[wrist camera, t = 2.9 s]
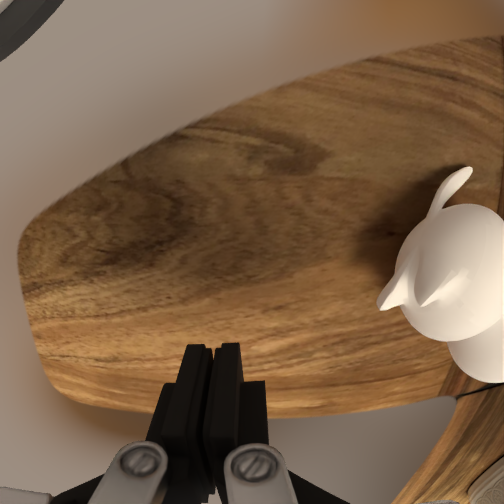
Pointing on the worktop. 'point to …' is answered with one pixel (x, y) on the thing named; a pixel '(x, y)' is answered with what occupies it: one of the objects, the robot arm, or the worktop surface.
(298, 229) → the worktop surface
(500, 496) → the jar
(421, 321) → the cat figurine
